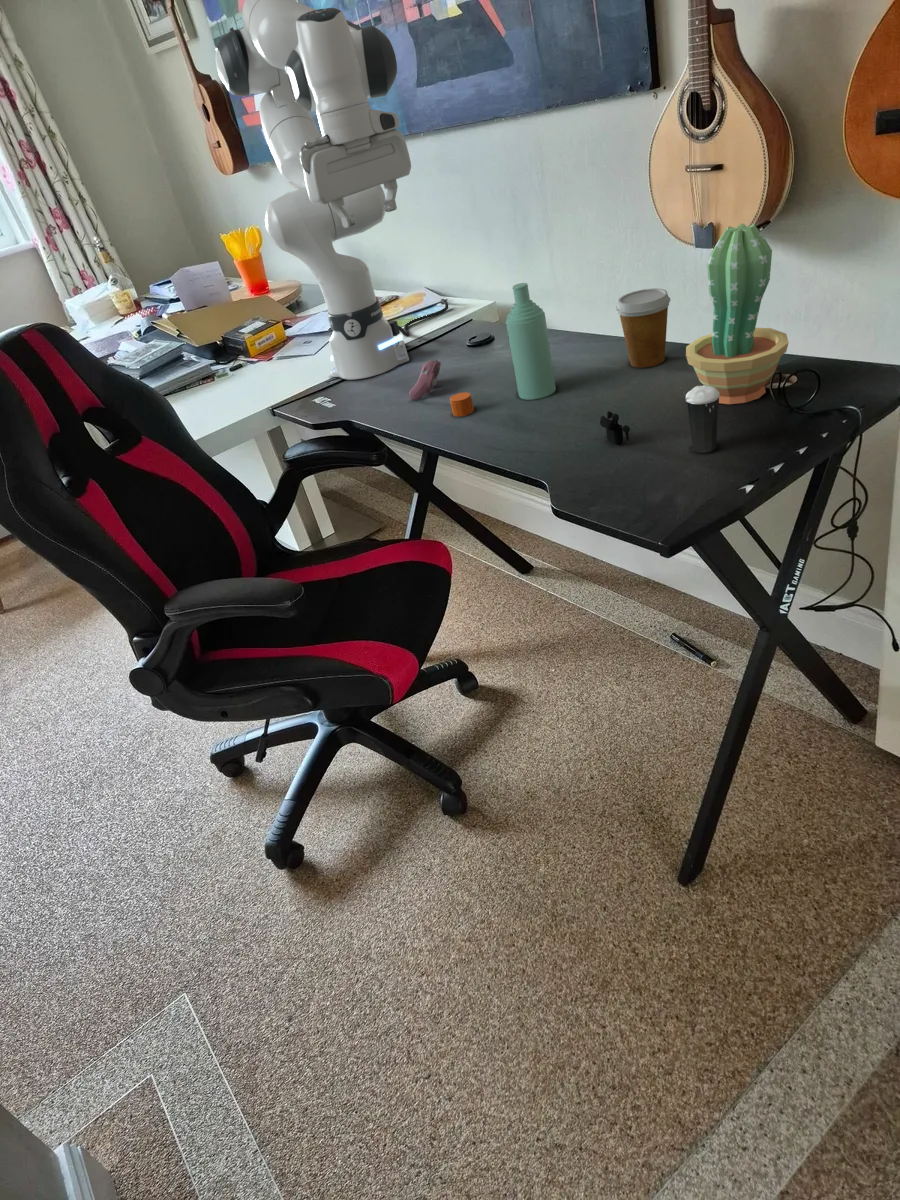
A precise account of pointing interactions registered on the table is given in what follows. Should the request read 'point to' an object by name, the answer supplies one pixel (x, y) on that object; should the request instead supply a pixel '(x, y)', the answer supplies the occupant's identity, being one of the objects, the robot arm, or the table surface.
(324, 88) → the robot arm
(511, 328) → the bottle
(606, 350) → the table surface
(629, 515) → the table surface
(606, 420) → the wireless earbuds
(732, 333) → the potted cactus
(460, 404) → the cap
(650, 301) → the disposable coffee cup
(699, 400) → the glass of dark beer
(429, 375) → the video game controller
